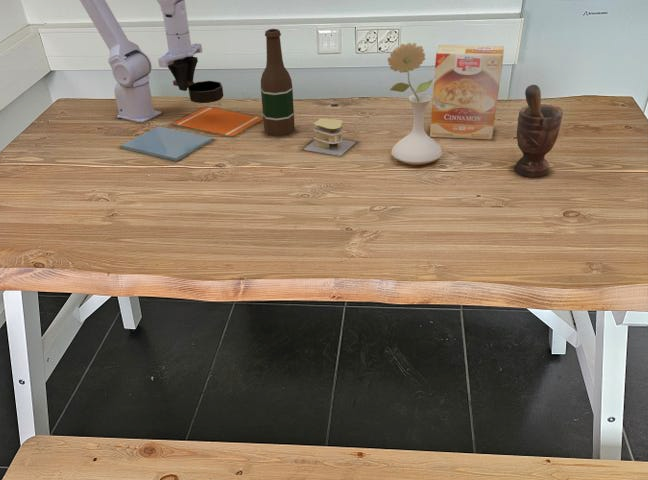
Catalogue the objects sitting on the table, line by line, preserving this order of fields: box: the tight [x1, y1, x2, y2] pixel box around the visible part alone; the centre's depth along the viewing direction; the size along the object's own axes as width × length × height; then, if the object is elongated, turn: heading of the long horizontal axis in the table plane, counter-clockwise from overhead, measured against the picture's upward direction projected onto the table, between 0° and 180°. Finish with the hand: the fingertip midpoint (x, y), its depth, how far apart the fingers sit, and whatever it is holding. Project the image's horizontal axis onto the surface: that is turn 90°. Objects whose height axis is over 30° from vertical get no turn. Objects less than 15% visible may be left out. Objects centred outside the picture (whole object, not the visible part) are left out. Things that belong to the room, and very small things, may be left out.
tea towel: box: [172, 106, 263, 137], centre depth 181 cm, size 20×14×1 cm
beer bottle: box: [260, 28, 295, 138], centre depth 165 cm, size 8×8×24 cm
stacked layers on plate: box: [303, 117, 357, 157], centre depth 163 cm, size 10×9×6 cm
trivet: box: [120, 125, 214, 162], centre depth 170 cm, size 18×14×1 cm
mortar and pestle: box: [513, 84, 564, 178], centre depth 141 cm, size 12×9×20 cm
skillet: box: [172, 79, 224, 104], centre depth 174 cm, size 14×8×3 cm, turn 58°
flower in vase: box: [387, 42, 443, 165], centre depth 149 cm, size 13×11×25 cm
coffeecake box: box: [429, 44, 505, 141], centre depth 161 cm, size 15×7×20 cm, turn 76°
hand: (186, 88), depth 176 cm, fingers closed on skillet, 2 cm apart
